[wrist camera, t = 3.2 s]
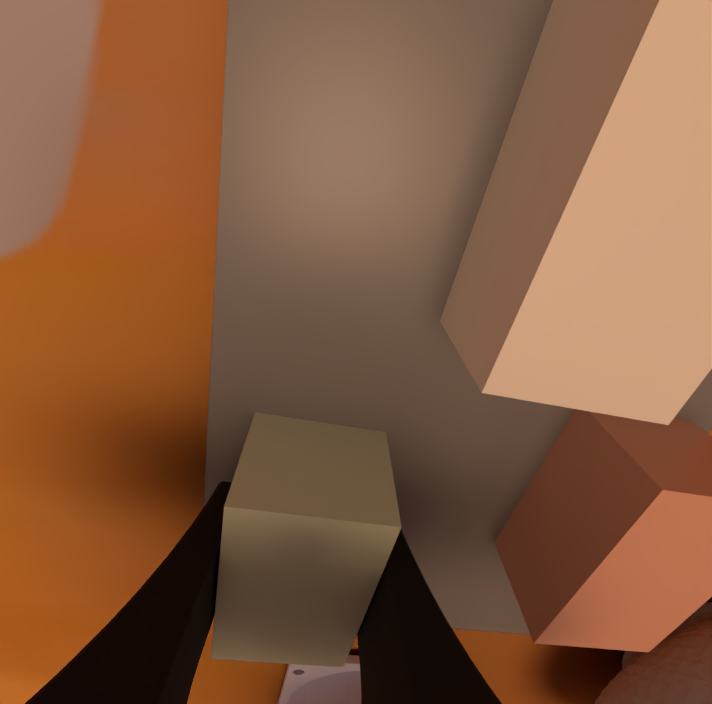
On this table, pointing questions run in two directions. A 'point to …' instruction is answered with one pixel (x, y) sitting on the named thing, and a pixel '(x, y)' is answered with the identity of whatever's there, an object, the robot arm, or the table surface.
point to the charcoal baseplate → (376, 260)
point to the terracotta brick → (613, 533)
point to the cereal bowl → (668, 668)
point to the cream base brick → (598, 218)
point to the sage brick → (303, 541)
